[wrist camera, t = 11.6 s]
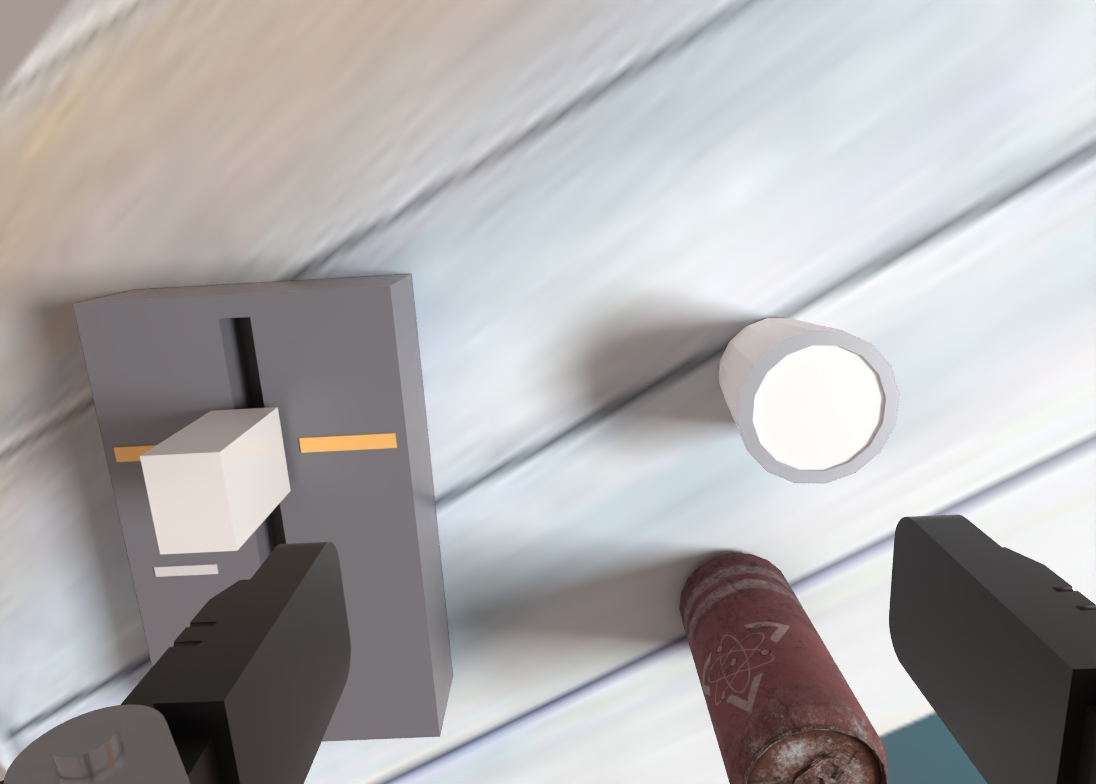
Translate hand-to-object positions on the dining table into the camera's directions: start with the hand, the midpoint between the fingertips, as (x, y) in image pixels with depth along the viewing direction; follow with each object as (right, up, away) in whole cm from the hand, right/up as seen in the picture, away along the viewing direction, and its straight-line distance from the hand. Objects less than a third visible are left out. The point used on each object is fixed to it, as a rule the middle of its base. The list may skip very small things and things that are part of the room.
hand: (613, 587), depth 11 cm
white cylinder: (+11, +4, +28) cm, 30 cm away
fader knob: (-14, +1, +25) cm, 29 cm away
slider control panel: (-14, -3, +30) cm, 33 cm away
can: (+9, -9, +31) cm, 34 cm away
